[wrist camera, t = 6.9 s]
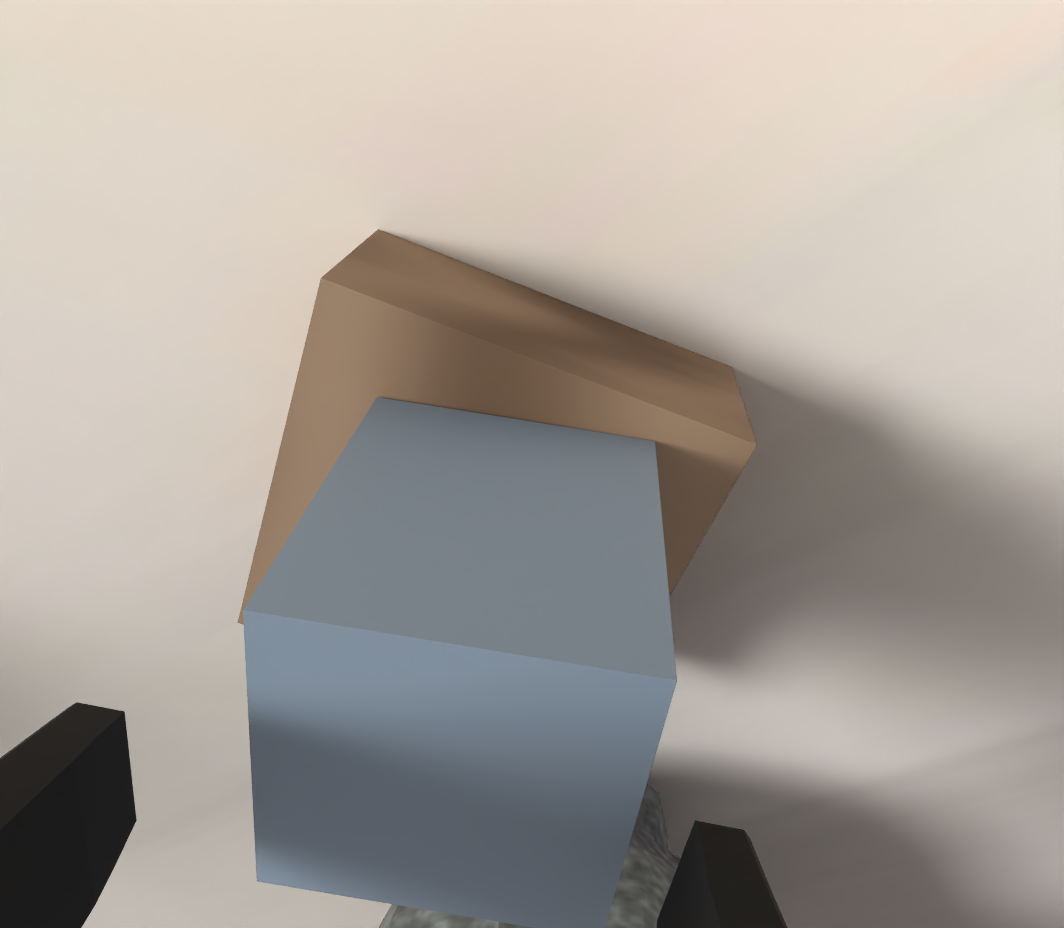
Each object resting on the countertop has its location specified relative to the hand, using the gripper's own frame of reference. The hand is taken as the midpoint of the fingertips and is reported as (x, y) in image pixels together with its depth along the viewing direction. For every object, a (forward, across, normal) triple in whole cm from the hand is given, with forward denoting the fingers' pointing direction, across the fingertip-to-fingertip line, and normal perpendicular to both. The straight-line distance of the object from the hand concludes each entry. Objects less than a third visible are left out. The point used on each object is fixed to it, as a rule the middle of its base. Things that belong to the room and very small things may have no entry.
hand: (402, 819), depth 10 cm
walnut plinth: (+10, 0, 0) cm, 10 cm away
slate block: (+6, 0, 0) cm, 6 cm away
